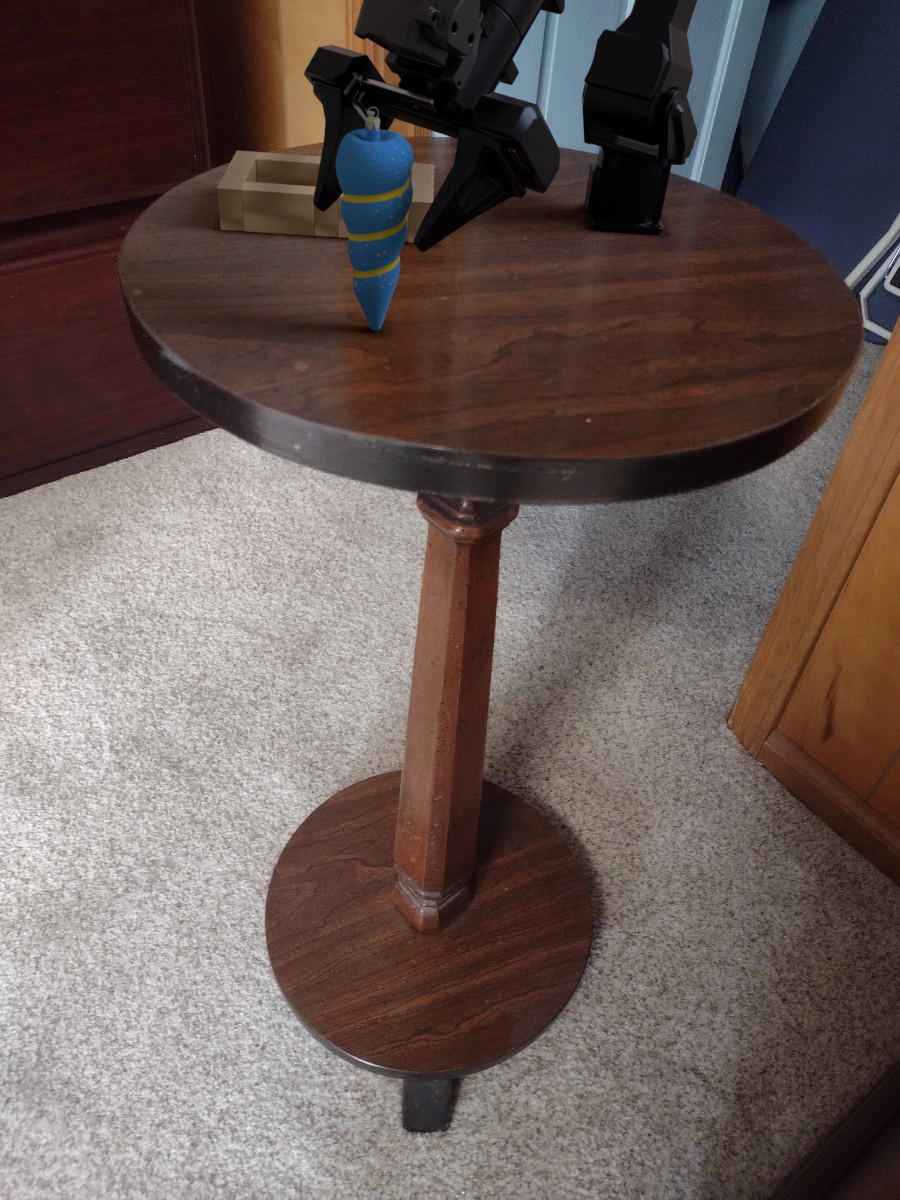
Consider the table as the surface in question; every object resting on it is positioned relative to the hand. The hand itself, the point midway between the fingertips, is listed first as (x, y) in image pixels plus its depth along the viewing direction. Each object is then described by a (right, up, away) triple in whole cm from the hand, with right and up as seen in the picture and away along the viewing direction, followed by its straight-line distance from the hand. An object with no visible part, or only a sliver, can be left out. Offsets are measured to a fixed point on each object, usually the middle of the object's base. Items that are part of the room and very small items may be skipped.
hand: (366, 227), depth 65 cm
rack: (-5, +9, +22) cm, 24 cm away
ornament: (0, -5, +6) cm, 8 cm away
